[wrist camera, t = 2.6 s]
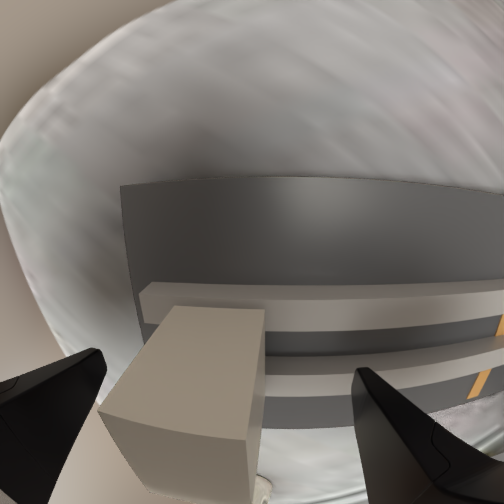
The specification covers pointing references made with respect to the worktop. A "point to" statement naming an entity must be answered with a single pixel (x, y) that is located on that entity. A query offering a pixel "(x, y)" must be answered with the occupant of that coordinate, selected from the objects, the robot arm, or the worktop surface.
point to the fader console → (332, 282)
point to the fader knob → (194, 405)
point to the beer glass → (262, 490)
